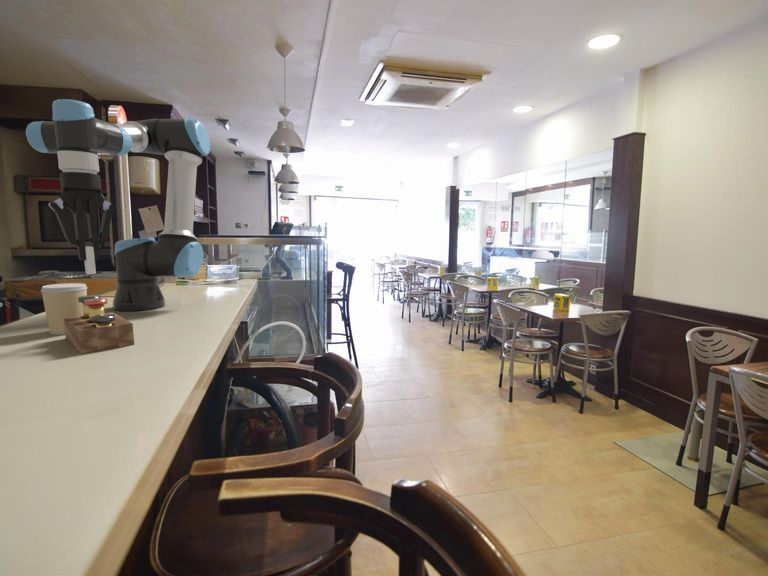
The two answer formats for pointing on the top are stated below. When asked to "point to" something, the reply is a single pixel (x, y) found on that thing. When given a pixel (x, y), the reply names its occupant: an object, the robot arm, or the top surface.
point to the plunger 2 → (103, 320)
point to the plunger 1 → (85, 308)
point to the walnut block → (98, 334)
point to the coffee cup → (62, 304)
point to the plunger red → (95, 306)
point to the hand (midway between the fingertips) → (90, 273)
